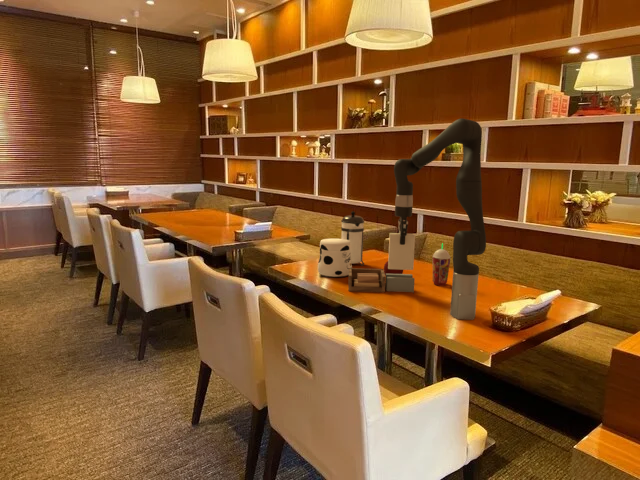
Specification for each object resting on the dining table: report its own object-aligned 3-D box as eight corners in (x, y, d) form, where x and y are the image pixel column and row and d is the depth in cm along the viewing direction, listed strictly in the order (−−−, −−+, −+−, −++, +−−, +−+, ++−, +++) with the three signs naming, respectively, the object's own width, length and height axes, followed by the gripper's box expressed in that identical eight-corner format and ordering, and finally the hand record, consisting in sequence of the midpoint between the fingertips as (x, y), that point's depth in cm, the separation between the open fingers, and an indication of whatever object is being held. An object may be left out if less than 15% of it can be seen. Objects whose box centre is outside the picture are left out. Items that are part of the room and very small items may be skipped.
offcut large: (378, 291, 201) (379, 283, 201) (354, 290, 202) (354, 282, 201) (377, 287, 207) (378, 279, 206) (353, 286, 208) (354, 279, 207)
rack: (384, 294, 200) (385, 276, 198) (348, 293, 201) (349, 275, 199) (382, 285, 214) (383, 269, 212) (348, 284, 214) (348, 268, 213)
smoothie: (449, 287, 213) (452, 245, 209) (431, 285, 215) (433, 244, 211) (447, 282, 221) (450, 242, 217) (430, 281, 223) (433, 241, 219)
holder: (413, 294, 201) (414, 278, 200) (386, 293, 202) (387, 278, 200) (411, 288, 209) (412, 274, 208) (385, 288, 210) (385, 273, 208)
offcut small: (378, 282, 202) (378, 276, 201) (358, 282, 202) (358, 276, 201) (376, 279, 207) (377, 273, 206) (357, 279, 206) (357, 273, 206)
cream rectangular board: (413, 269, 202) (415, 234, 199) (388, 269, 202) (390, 234, 199) (412, 268, 204) (414, 233, 201) (388, 267, 205) (389, 233, 202)
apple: (406, 280, 223) (407, 261, 221) (394, 284, 216) (395, 263, 215) (391, 276, 230) (392, 257, 228) (379, 279, 223) (380, 260, 222)
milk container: (357, 278, 226) (359, 243, 222) (326, 281, 218) (327, 245, 215) (341, 270, 241) (342, 237, 238) (312, 273, 234) (312, 239, 230)
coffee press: (369, 263, 259) (372, 210, 253) (357, 268, 245) (358, 213, 240) (343, 258, 268) (344, 208, 262) (329, 264, 254) (330, 211, 249)
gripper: (414, 207, 191) (412, 247, 194) (410, 203, 205) (408, 241, 208) (396, 206, 191) (394, 246, 195) (393, 203, 205) (391, 240, 208)
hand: (401, 243), depth 201 cm, fingers closed on cream rectangular board, 2 cm apart
